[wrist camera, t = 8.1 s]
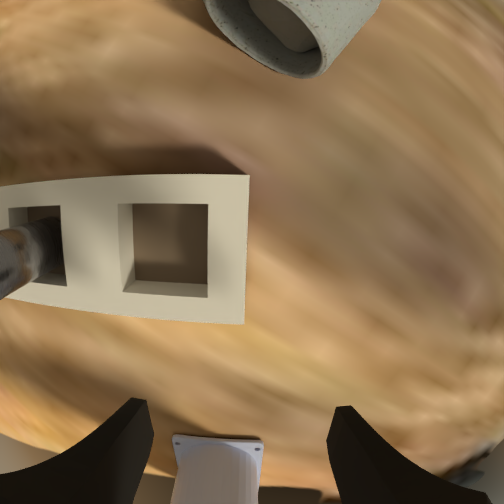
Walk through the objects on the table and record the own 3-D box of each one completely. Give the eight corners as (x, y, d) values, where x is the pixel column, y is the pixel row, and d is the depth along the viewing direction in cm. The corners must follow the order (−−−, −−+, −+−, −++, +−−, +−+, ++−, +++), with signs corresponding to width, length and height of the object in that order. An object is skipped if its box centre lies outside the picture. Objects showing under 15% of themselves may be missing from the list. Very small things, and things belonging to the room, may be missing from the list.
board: (244, 303, 19) (244, 324, 16) (25, 284, 19) (3, 296, 16) (249, 176, 17) (249, 175, 15) (16, 185, 17) (-9, 187, 14)
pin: (77, 262, 18) (0, 308, 10) (42, 268, 18) (-32, 309, 10) (66, 211, 17) (-19, 235, 9) (31, 221, 17) (-49, 247, 9)
